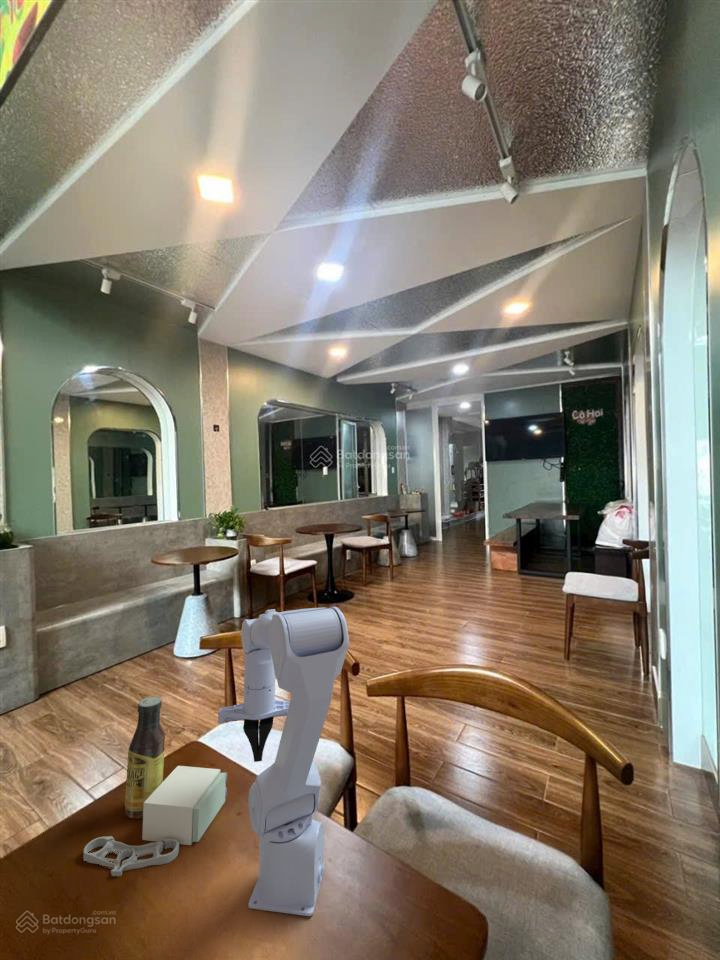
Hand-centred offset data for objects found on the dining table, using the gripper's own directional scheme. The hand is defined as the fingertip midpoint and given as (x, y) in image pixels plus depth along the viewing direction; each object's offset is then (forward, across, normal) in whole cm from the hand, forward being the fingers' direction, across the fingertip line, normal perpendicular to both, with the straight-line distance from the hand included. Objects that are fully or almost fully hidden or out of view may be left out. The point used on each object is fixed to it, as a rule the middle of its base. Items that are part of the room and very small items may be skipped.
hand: (258, 758), depth 72 cm
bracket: (+11, +20, +5) cm, 23 cm away
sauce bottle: (+11, +22, -6) cm, 25 cm away
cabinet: (+10, +13, -2) cm, 17 cm away
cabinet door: (+10, +8, -1) cm, 13 cm away
